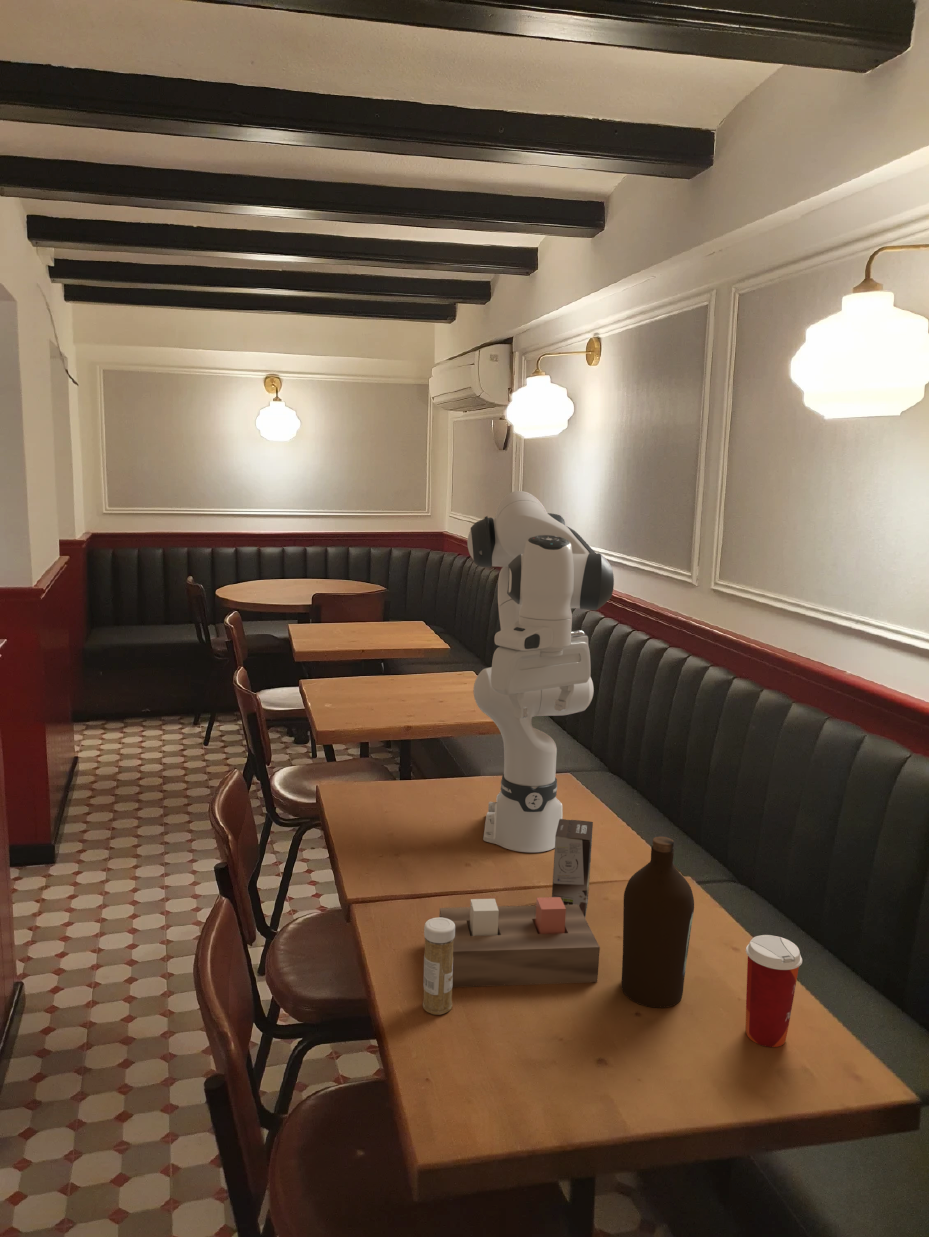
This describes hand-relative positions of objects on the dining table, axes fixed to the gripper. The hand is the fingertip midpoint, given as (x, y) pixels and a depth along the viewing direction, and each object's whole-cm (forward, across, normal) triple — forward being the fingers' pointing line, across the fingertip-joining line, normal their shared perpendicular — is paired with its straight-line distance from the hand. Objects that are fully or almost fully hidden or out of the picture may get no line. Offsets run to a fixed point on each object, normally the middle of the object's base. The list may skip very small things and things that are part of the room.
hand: (541, 713), depth 154 cm
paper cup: (+40, -7, +42) cm, 58 cm away
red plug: (+35, +5, +9) cm, 36 cm away
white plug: (+35, +14, +3) cm, 38 cm away
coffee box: (+39, -10, -1) cm, 40 cm away
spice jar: (+40, +27, +9) cm, 49 cm away
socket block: (+39, +9, +6) cm, 41 cm away
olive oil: (+40, -3, +25) cm, 47 cm away
